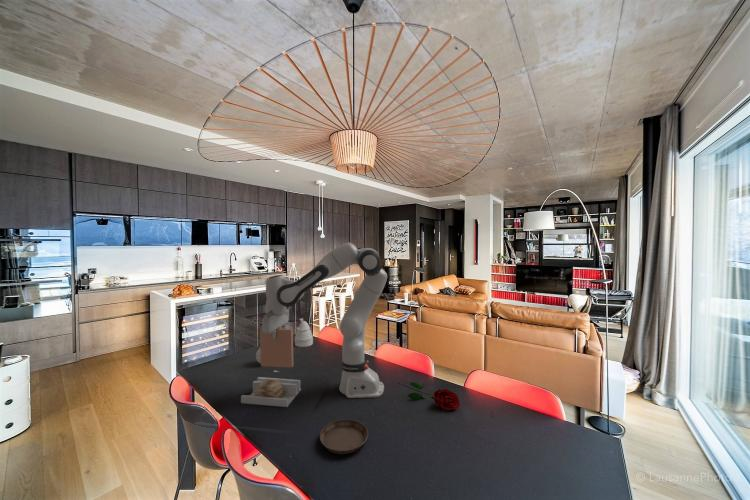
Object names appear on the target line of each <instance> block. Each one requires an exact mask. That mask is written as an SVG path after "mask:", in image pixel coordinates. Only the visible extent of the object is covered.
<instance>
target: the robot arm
mask: <svg viewBox="0 0 750 500" xmlns="http://www.w3.org/2000/svg"><path fill="white" fill-rule="evenodd" d="M381 261H382V260H381V257H380V254H379V252H378V251H377V250H375V249H374V248H372V247H368V246H367V247H357V246H356V245H355V244H354V243H352V242H345V243H343V244H341V245H339V246H337V247H335V248H333V249H332V250H331V251H330V252H328V253H326V255H324V256H323V257H322V259H320V260H319V261H318V262H317V263H316V265H314V267H313V268H312V269H311V270H310V271H309V272H307V273H306V274H304V275H303V276H302V277H300V278H299V279H297V280H292V279H290V278H287V277H286V276H285V275H282V274H278V275H273V276H270V277H268V278H267V279H266V282H265V295H266V297H265V298H266V302H265V315H264V316H263V318H262V326H261V328H262V332H263V333H271V334H272V338H273V339H275V338H277V334H276V329H283V328H282V327H283V326H284V325H286V324H288V323H289V320H290V310H289V309H290V307H292V306H295V305H296V304H297V303H298V302H299V301H300V300H301V299H302V298H303V297H304V295H305V293H306V292H307V291H308V290H310V289H311V288H313V287H314V286H316V284H319V283H321V282H322V281H324V280H327V279H329V278H332V277H334V276H336V275H339V274H341V272H343V271H344V270H346V269H347V268H348V267H350V266H353V265H358V267H359V268H360V270H361V271H363V272H364V273H365V274H364V278H363V280H362V282H361V283H360V285H359V287H358V289H357V291H356V293H355V295H354V296H353V298H352V300H351V302H350V304H349V306H348V307H347V310H345V313H344V315H343V316H342V318H341V321H340V324H339V331H340V333H341V335H342V336H343V337H342V338H343V339H342V346H341V347H342V348H341V349H342V350H341V351H342V356H341V357H342V360H341V363H340V364H341V365H340V366H341V368H340V369H341V379H340V385H339V387H338V389H339V392H340V393H341V394H343V395H344V396H346V398H349V399H355V398H359V399H361V398H379V397H381V396H382V395H383V394H384V391H385V384H384V383H383V382H382V381H380V377H379V374H378V373H377V372H376V371H374V370H373V369H371V368H370V367H369V360H366V359H365V337H366V323H367V321H368V320H369V318H370V316H371V313H372V311H373V309H374V308H375V305H376V304H377V302H378V301H379V298H380V296H381V294H382V292H383V290H384V288H385V286H386V283H387V281H388V280H387V279H388V274H387V272H386V271H385V269H383V268H382V265H381V263H382V262H381Z"/></svg>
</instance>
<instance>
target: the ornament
mask: <svg viewBox="0 0 750 500" xmlns="http://www.w3.org/2000/svg"><path fill="white" fill-rule="evenodd" d="M255 359H256V362H258V363H259V364H261V356H260V347H259V348H258V349H257V351H256V353H255Z"/></svg>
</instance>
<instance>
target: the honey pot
mask: <svg viewBox="0 0 750 500" xmlns="http://www.w3.org/2000/svg"><path fill="white" fill-rule="evenodd" d="M299 322H300V324H299V326H297V327H296V329H295V330H296V333H295V336H294V346H295V347H299V348H304V347H306V348H307V347H310V346H312V345H313V344H314V335H313V333H312V331H311V326H309V324H308V322H307V321H305V320H304V318H299Z"/></svg>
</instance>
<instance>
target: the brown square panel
mask: <svg viewBox="0 0 750 500" xmlns="http://www.w3.org/2000/svg"><path fill="white" fill-rule="evenodd" d="M276 334H277V338H275V339H273V338H272V334H271V333H263V332H262V327H261V328H260V329H259V348H260V356H261V363H260V367H273V368H274V367H275V368H276V367H277V368H293V367H294V328H282V329H276Z"/></svg>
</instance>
